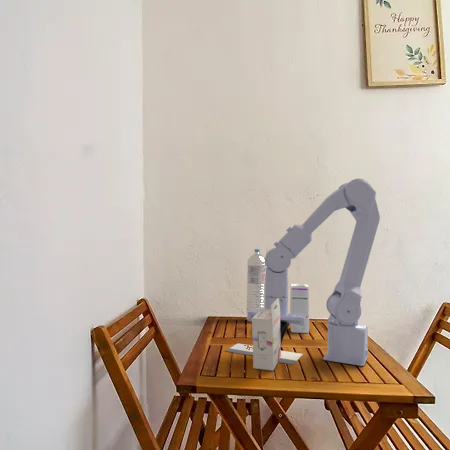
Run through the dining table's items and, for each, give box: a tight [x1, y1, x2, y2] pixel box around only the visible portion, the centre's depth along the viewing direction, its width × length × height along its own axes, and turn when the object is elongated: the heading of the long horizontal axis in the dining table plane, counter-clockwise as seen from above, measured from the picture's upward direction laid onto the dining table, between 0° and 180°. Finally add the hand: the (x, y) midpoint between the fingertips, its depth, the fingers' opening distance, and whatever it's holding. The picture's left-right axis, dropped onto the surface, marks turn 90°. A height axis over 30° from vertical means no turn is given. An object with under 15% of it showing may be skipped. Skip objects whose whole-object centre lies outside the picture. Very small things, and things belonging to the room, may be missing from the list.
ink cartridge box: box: [251, 298, 282, 372], centre depth 92 cm, size 9×5×15 cm, turn 160°
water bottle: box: [246, 248, 267, 323], centre depth 138 cm, size 7×7×25 cm
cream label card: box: [278, 350, 304, 366], centre depth 98 cm, size 9×9×1 cm
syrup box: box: [289, 283, 310, 334], centre depth 125 cm, size 6×6×14 cm
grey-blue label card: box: [224, 342, 253, 357], centre depth 104 cm, size 8×8×1 cm
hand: (275, 351), depth 98 cm, fingers closed
